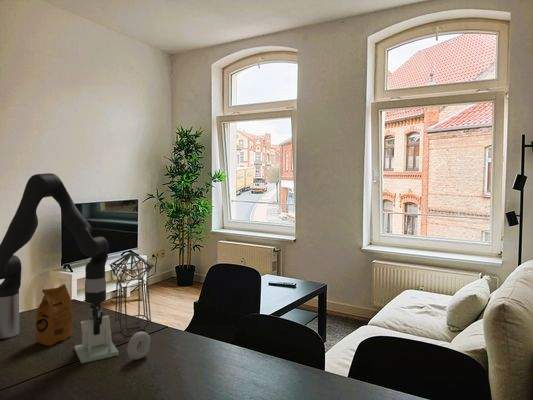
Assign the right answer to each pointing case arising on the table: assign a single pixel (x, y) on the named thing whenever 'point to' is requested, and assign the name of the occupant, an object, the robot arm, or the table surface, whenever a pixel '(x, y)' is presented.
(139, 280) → the geometric lantern
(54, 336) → the coffee package
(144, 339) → the donut
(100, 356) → the dish rack
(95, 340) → the off-white rectangular prism
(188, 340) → the table surface
